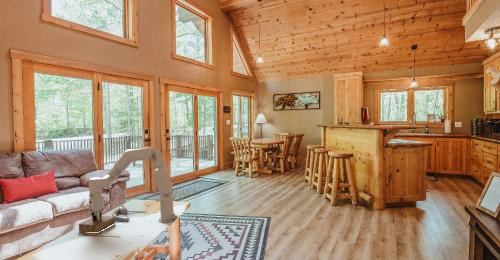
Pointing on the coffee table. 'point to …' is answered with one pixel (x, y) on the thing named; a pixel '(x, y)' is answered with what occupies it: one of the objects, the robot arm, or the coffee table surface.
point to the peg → (98, 216)
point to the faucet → (123, 211)
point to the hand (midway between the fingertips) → (97, 219)
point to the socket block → (96, 224)
